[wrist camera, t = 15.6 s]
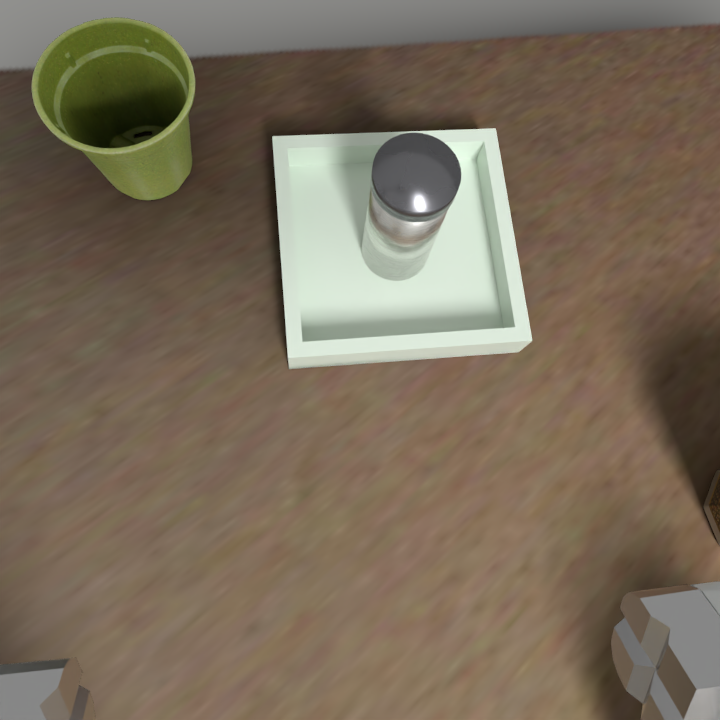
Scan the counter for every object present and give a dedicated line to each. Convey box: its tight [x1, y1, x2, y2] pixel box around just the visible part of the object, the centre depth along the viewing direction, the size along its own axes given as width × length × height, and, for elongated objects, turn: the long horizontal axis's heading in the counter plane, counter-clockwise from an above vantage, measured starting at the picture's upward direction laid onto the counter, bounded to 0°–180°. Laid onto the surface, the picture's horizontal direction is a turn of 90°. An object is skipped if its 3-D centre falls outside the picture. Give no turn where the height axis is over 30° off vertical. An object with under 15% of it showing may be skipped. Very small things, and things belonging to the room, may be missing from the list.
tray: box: [272, 128, 532, 369], centre depth 44 cm, size 16×16×3 cm
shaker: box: [361, 133, 461, 281], centre depth 40 cm, size 5×5×10 cm
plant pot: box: [32, 17, 195, 200], centre depth 42 cm, size 9×9×9 cm
